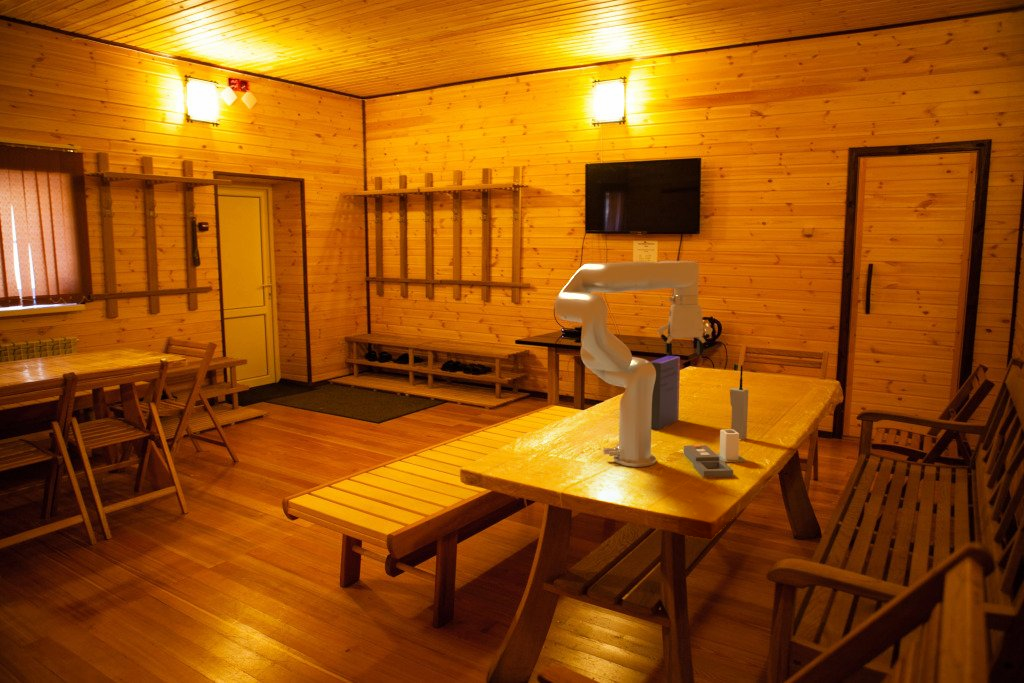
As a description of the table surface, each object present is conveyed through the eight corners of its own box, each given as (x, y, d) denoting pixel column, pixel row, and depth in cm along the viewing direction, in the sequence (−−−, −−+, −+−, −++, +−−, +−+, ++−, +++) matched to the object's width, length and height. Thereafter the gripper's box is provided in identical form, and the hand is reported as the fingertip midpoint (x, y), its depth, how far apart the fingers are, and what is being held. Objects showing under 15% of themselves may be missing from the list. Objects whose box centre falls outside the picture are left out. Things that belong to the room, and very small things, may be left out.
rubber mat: (720, 463, 212) (720, 461, 211) (711, 455, 219) (711, 453, 219) (746, 462, 212) (746, 460, 212) (736, 454, 220) (736, 452, 220)
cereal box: (666, 418, 265) (667, 355, 262) (678, 420, 262) (680, 356, 259) (646, 428, 251) (647, 361, 248) (659, 430, 248) (660, 363, 245)
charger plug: (725, 459, 213) (726, 433, 212) (719, 454, 218) (720, 429, 217) (738, 459, 213) (739, 433, 212) (732, 454, 218) (733, 428, 217)
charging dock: (703, 477, 198) (704, 465, 198) (681, 455, 220) (681, 443, 219) (733, 477, 199) (733, 464, 198) (708, 454, 220) (708, 443, 220)
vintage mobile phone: (732, 435, 241) (734, 363, 238) (746, 438, 238) (749, 364, 234) (727, 438, 238) (730, 364, 235) (742, 440, 235) (745, 366, 232)
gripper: (661, 302, 216) (660, 357, 219) (717, 301, 217) (715, 356, 219) (655, 300, 224) (654, 353, 226) (709, 299, 224) (707, 352, 227)
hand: (684, 355), depth 223 cm, fingers open, 9 cm apart
